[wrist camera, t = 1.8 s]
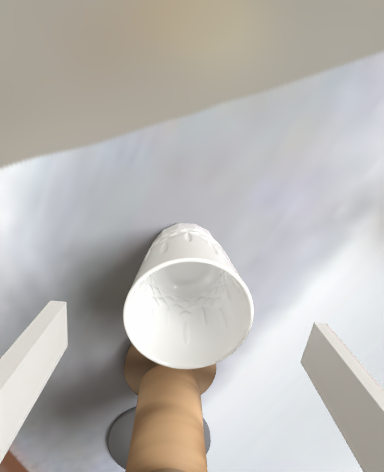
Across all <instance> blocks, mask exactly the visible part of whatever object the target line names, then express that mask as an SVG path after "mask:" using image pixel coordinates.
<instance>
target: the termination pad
mask: <svg viewBox="0 0 384 472" xmlns="http://www.w3.org/2000/svg"><path fill="white" fill-rule="evenodd" d="M135 412H136V407H134V408H132V409H130V410H128V411H127V412H125V413H124V414H122V415H121V416H120V417H119V418H118V419H117V420H116V421H115V423H114V424H113V426H112V428H111V431H110V434H109V439H108V448H109V452H110V454H111V456H112V458H113V459H114V460H115V461H116V463H117V464H119V465H120V466H121V467H122V468H124V469H126V466H127V460H128V454H129V448H130V442H131V436H132V430H133V424H134V418H135ZM203 428H204V439H205V450H206V454H207V452H208V450H209V447H210V431H209V427H208V425H207V423H206V422H205V420H204V419H203Z"/></svg>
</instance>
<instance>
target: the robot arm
mask: <svg viewBox="0 0 384 472" xmlns="http://www.w3.org/2000/svg"><path fill="white" fill-rule="evenodd" d="M67 346H68V339H67V308H66V302H62V301H50V302H49V303H48V304H47V305H46V306H45V307H44V309H43V310H42V311H41V312H40V313H39V314H38V315H37V317H36V318H35V319H34V320H33V321H32V322H31V324H30V325H29V326H28V327H27V328H26V329H25V331H24V332H23V333H22V334H21V335H20V336H19V338H18V339H17V340H16V341H15V342H14V343H13V345H12V346H11V347H10V348H9V349H8V350H7V351H6V353H5V354H4V355H3V356H2V357H1V358H0V463H1V461H2V460H3V458H4V456H5V454H6V453H7V451H8V449H9V447H10V446H11V444H12V442H13V441H14V439H15V437H16V435H17V434H18V432H19V430H20V428H21V427H22V425H23V423H24V421H25V420H26V418H27V416H28V414H29V413H30V411H31V409H32V407H33V406H34V404H35V402H36V400H37V399H38V397H39V395H40V393H41V392H42V390H43V388H44V386H45V385H46V383H47V381H48V379H49V378H50V376H51V374H52V372H53V371H54V369H55V367H56V365H57V364H58V362H59V360H60V358H61V357H62V355H63V353H64V351H65V350H66V348H67ZM301 364H302V365H303V367H304V369H305V371H306V372H307V374H308V376H309V378H310V379H311V381H312V383H313V385H314V386H315V388H316V390H317V392H318V393H319V395H320V397H321V399H322V400H323V402H324V404H325V406H326V407H327V409H328V411H329V413H330V414H331V416H332V418H333V419H334V421H335V423H336V425H337V426H338V428H339V430H340V432H341V433H342V435H343V437H344V439H345V440H346V442H347V444H348V446H349V447H350V449H351V451H352V453H353V454H354V456H355V458H356V460H357V461H358V463H359V465H360V467H361V468H362V470H363V472H384V390H383V388H382V387H381V386H380V385H379V384H378V383H377V381H376V380H375V379H374V378H373V377H372V376H371V374H370V373H369V372H368V371H367V370H366V369H365V367H364V366H363V365H362V364H361V363H360V361H359V360H358V359H357V358H356V357H355V356H354V354H353V353H352V352H351V351H350V350H349V349H348V347H347V346H346V345H345V344H344V343H343V342H342V340H341V339H340V338H339V337H338V336H337V335H336V333H335V332H334V331H333V330H332V329H331V328H330V326H329V325H328V324H323V323H314V325H313V327H312V330H311V333H310V336H309V339H308V342H307V345H306V347H305V350H304V353H303V356H302V359H301Z"/></svg>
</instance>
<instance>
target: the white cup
mask: <svg viewBox="0 0 384 472" xmlns="http://www.w3.org/2000/svg"><path fill="white" fill-rule="evenodd" d="M253 315H254V309H253V301H252V298H251V295H250V292H249V290H248V288H247V287H246V285H245V283H244V282H243V280H242V279H241V277H240V275H239V274H238V272H237V271H236V269H235V267H234V266H233V264H232V262H231V261H230V259H229V258H228V256H227V254H226V253H225V252H224V250H223V249H222V247H221V246H220V244H219V243H218V242H217V241H216V240H215V239H214V238H213V236H212V235H211V234H210V232H209V231H208V230H206V229H204V228H202V227H200V226H198V225H196V224H194V223H177V224H175V225H173V226H170V227H168V228H166V229H164V230H163V231H162V232H161V233H160V234H159V235H158V237H157V238H156V239H155V240H154V241H153V243H152V246H151V247H150V249H149V251H148V252H147V254H146V256H145V258H144V260H143V262H142V264H141V266H140V269H139V271H138V273H137V275H136V278H135V280H134V282H133V284H132V286H131V289H130V291H129V293H128V295H127V298H126V300H125V304H124V310H123V321H124V327H125V330H126V333H127V335H128V337H129V339H130V341H131V342H132V344H133V345H134V346H135V348H136V349H137V350H138V351H139V352H140V353H141V354H143V355H144V356H145V357H147V358H148V359H150V360H151V361H153V362H155V363H158V364H160V365H163V366H166V367H170V368H176V369H197V368H202V367H206V366H210V365H213V364H215V363H217V362H220V361H222V360H223V359H225V358H227V357H228V356H230V355H231V354H232V353H233V352H235V351H236V350H237V349H238V348H239V347H240V345H241V344H242V343H243V342H244V340H245V339H246V337H247V335H248V333H249V331H250V329H251V326H252V322H253Z"/></svg>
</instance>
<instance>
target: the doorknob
mask: <svg viewBox="0 0 384 472" xmlns="http://www.w3.org/2000/svg"><path fill="white" fill-rule="evenodd" d="M215 374H216V363H215V364H213V365H210V366H206V367H202V368H197V369H176V368H170V367H166V366H163V365H160V364H158V363H155V362H153V361H151V360H150V359H148V358H147V357H145V356H144V355H143V354H141V353H140V352H139V351H138V350H137V349H136V348H135V346H134V345H133V344H132V343H131V344H130V346H129V349H128V352H127V355H126V359H125V363H124V376H125V379H126V382H127V384H128V385H129V387H130V388H131V390H132V391H133V392H134V393H135V394H137V395H138V400H137V406H136V412H135V418H134V424H133V430H132V436H131V442H130V448H129V454H128V460H127V466H126V472H207V461H206V450H205V439H204V428H203V417H202V406H201V396H200V395H201V394H203V393H204V392H205V391H206V390H207V389H208V388H209V387H210V385H211V384H212V382H213V380H214V378H215Z"/></svg>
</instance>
